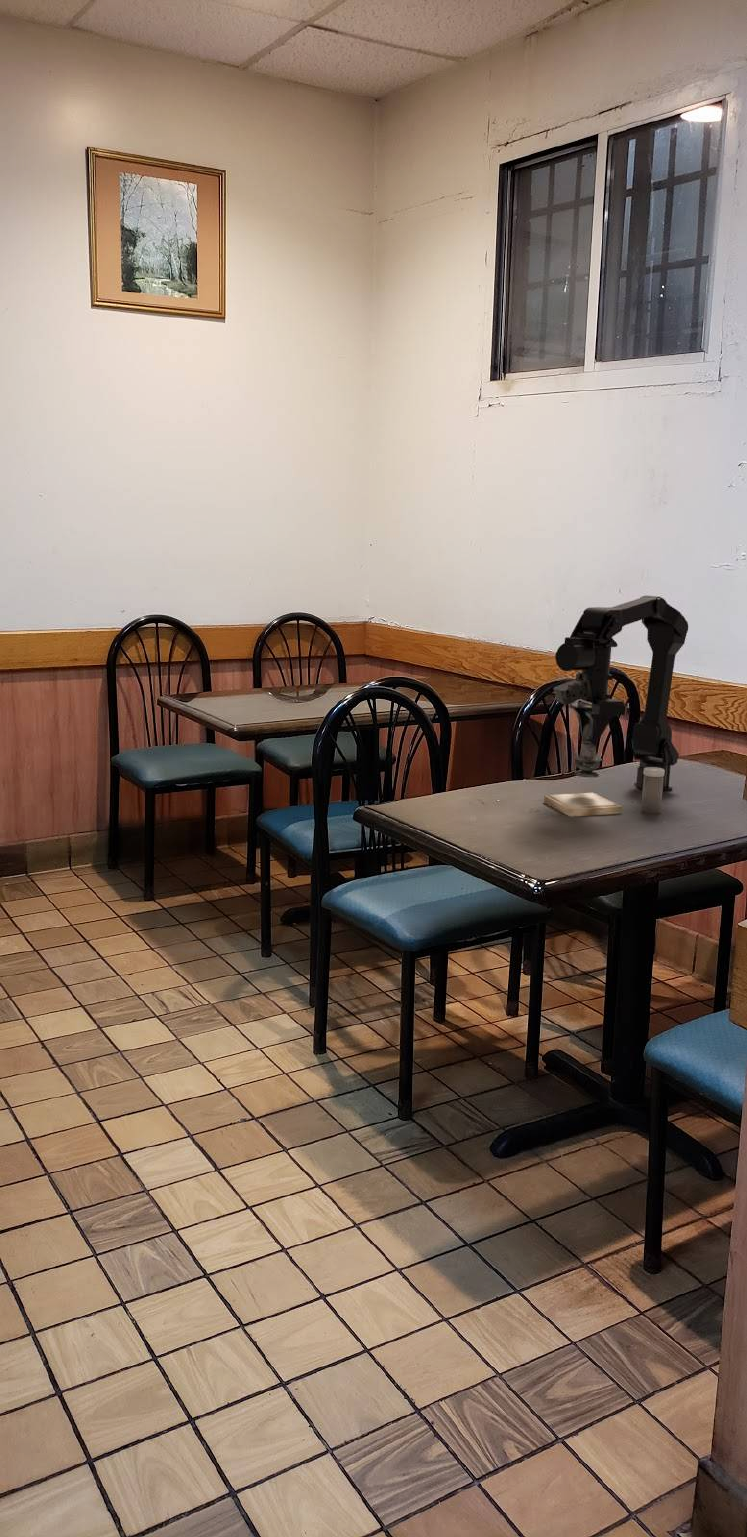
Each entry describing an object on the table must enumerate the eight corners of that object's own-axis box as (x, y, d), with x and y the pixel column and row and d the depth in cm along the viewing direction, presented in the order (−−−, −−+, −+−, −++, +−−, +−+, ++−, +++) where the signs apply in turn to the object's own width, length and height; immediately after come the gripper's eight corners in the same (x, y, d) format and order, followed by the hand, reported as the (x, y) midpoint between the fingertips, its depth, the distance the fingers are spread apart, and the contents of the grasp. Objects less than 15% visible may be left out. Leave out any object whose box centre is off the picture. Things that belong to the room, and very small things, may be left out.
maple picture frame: (593, 799, 258) (594, 791, 258) (621, 813, 247) (622, 805, 247) (543, 802, 255) (544, 794, 254) (569, 816, 244) (570, 808, 243)
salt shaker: (602, 778, 249) (607, 722, 247) (574, 776, 250) (579, 720, 247) (598, 772, 255) (603, 717, 253) (570, 771, 255) (575, 716, 253)
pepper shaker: (654, 808, 252) (657, 766, 250) (664, 813, 248) (668, 771, 246) (636, 809, 251) (640, 767, 249) (647, 814, 247) (650, 771, 245)
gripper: (541, 662, 254) (535, 734, 257) (581, 674, 237) (575, 751, 240) (588, 663, 257) (582, 734, 261) (631, 674, 240) (624, 750, 243)
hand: (589, 742), depth 251 cm, fingers closed on salt shaker, 4 cm apart
